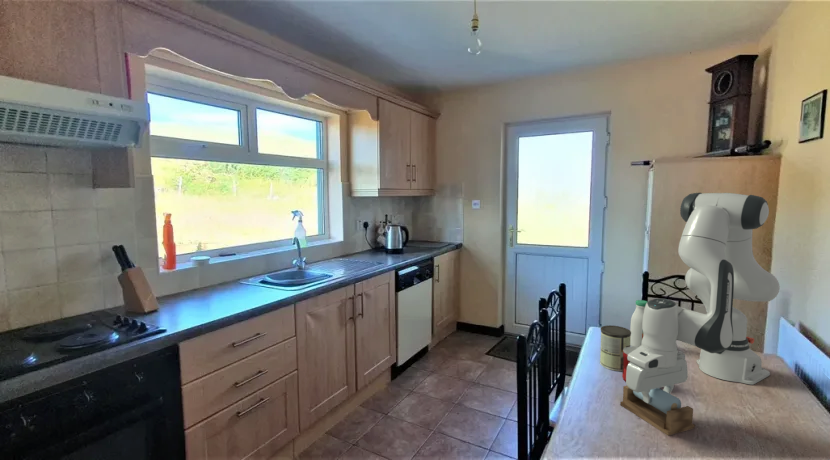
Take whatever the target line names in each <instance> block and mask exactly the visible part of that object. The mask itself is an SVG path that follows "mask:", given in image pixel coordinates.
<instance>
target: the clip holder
mask: <svg viewBox="0 0 830 460" xmlns="http://www.w3.org/2000/svg"><path fill="white" fill-rule="evenodd" d="M622 390H623V392H622V401H620V404H619V405H620V406H621V407H623V408H624V409H626V410H627V411H629V412H630V413H632V414H634V415H635V416H637V417H638V418H639V419H642V420H643V421H645V422H646V423H647V424H649V425H651V426H652V427H653V428H655V429H657V430H659V431H660V432H661V433H663V434H665V435H666V436H668V437H669V436H672V435H675V434H679V433H683V432H686V431H689V430H693V429H695V428H696V427H695V426H696V425H695V424H694V423H693V419H694V417H693V415H694V408H693V407H691V406H689V405H687V406H683V407H682V406H681V408H678V409H674V410H670V411H667V414H665V413H664V412H662V411H660V410H658V409H657V408H655V407H653V406H652V405H650V404H648V403H646V402H644V401H643V400H641V399H640V398H638V397H636V396H635V395H634V393H633V390H631V389H630V388H628V386H627V385H624V386H623V389H622Z"/></svg>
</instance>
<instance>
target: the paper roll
mask: <svg viewBox="0 0 830 460" xmlns="http://www.w3.org/2000/svg"><path fill="white" fill-rule="evenodd" d="M633 393H634V395H635V396H636V397H638V398H640V399H641V400H643V394H642V392H638V393H637V392H635V391H633ZM649 396H651V397H652V402H651V403H648V404H650V405H652V406H653V407H655V408H657V409H658V410H660V411H662V412H664V413H665V414H667V411H670V410H674V409H678V408H682V401H681V399H680V398H679V397H677V396H675V395H673V394H671V393H670V394H669V393H667V392H666V391H664V390H663V389H661V387H660V388H656V389H652V390H650V393H649Z"/></svg>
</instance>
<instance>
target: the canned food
mask: <svg viewBox="0 0 830 460" xmlns="http://www.w3.org/2000/svg"><path fill="white" fill-rule="evenodd" d="M635 349H637V348H636V347H632V346H630V347H626V348H624V349H623V371H621V372H622V380H623V381H624V382H625V383H626V371H627V366H628V364H629V363H630V361H628V359H627V356H628V354H629V353H631V352H632V351H634V350H635Z"/></svg>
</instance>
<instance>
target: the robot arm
mask: <svg viewBox="0 0 830 460" xmlns="http://www.w3.org/2000/svg"><path fill="white" fill-rule="evenodd" d="M769 210H770V209H769V204H768V201H767V200H766V199H765V198H764V197H762V196H759V195H754V194H749V195H748V194H740V193H734V192H733V193H732V192H731V193H730V192H714V193H713V192H708V193H707V192H706V193H702V192H692V193H688V195H685V197H684V198H683V199H682V201H681V204H680V217H681V219H682V220H683V221H684V222H686V223H685V225H684V228H683V230H682V234H681V236H680V240H679V243H678V250H677V251H678V255H679V257H680V259H681V260H682V262H683V263H684V264H685V265H686V266H687V267H689V269H688V270H687V272H686V273H685V275H684V280H685V285H686V287H687V288H688V290H690V291H691V292H693V294H695V295H696V296H697V297H698V298H699V300H700V301H701V303H702V304H703V306H704V307H705V311H706V313H702V312H699V311H695V310H691V309H688V308H685V307H681V306H678V305H677V303H676V302H675V301H674V300H672V299H667V298H654V299H650V300H648V301H647V303H646V306H645V309H644V314H643V322H642V330H643V339H642V344H641V346H639V347H638V348H637V349H635V350H634V351H632V352H631V353H629V354H628V356H627V359H628V361H630V363H629V364H628V366H627V371H626V382H625V385H626V386H628V388H630V389H631V390H633V391H635V392H637V393H638V392H642V394H643V401H644V402H646V403H651V402H652V397H651V396H649V393H650V390H652V389H656V388H660V389H661V388H663V389H662V390H664V391H666V392H667V393H669V394H671V393H672V391H673V390H674V387H675V385H678V384H682V383H685V382H687V380H688V377H689V376H688V375H689V374H688V363H687V360H686V354H685V353H684V352H683V351H681V350H678V345H677V341H679V342H682V343H685V344H688V345H690V346H694V347H695V348H696V347H697V348H698V349H700V355H699V358H698V359H697V360H696V363H697V364H698V367H699V370H700V371H702V372H703V373H704V374H706V375H708V376H711V377H713V378H716V379H720V380H723V381H728V382H736V383H742V384H746V385H752V386H753V385H755V384H757V383H759V382H760V381H762V380H764V379H766V378H768V377H769V376H770V375H771V372H770V371H769V370H767V369H765V368H764V367H762V363H763V362H762V357H760V356H759V354H757V353H756V352H755V351H754V350H752V349H751V348H750V344H751V345H753V344H754V343H755V338H754V337H750V336H747V332H748V329H747V328H748V318H747V315H745V313H743V311H741V310H739V309H738V308H736V307H734V306H733V305H734V300H740V301H745V302H771V301H773V300H774V299H775V298H777V296H778V295H779V293H780V287H781V286H780V282H779V280H778V279H777V277H776V276H775V275H774V274H772V273H771V272H769V271H767V270H765V268H763V267H762V266H761V265H760V264H759V263H758V261H757V260H756V258H755V256H754V253H753V230H756V229H759V228H761V227H763V226H764V224H765V222H766V221H767V220H768V218H769V213H770V211H769Z"/></svg>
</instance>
